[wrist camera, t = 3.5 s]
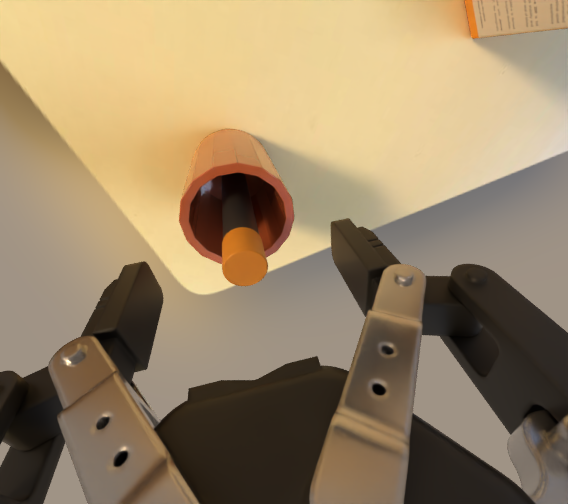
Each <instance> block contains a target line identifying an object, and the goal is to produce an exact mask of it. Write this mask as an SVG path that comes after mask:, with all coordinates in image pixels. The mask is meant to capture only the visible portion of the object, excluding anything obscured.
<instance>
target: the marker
mask: <svg viewBox="0 0 568 504" xmlns="http://www.w3.org/2000/svg"><path fill="white" fill-rule="evenodd" d="M221 178H222V220H223V241H222V270H223V274H224V276H225V278H226V279H227V280H228V281H229V282H231V283H232V284H235V285H238V286H249V285H253V284H255V283H257V282H259V281H260V280H262V278H264V276H265V275H266V273H267V269H268V264H267V259H266V255H265V251H264V247H263V243H262V239H261V237H260V235H259V231H258V227H257V223H256V218H255V214H254V210H253V206H252V202H251V197H250V193H249V189H248V185H247V181H246V177H245V174H244V173H239V172H237V173H232V174H227V175H222V176H221Z"/></svg>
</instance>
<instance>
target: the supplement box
mask: <svg viewBox="0 0 568 504" xmlns="http://www.w3.org/2000/svg"><path fill="white" fill-rule="evenodd" d="M465 6H466V10H467V16H468V22H469V27H470V33H471V37H472V38H473V39H474V38H485V37H492V36H501V35H512V34H520V33H527V32H538V31H546V30H555V29H564V28H568V0H465Z"/></svg>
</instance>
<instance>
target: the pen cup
mask: <svg viewBox="0 0 568 504" xmlns="http://www.w3.org/2000/svg"><path fill="white" fill-rule="evenodd" d="M237 172H239V173H244V174H245V177H246V181H247V185H248V189H249V193H250V197H251V202H252V206H253V210H254V214H255V218H256V223H257V227H258V231H259V235H260V237H261V239H262V243H263V247H264V251H265V255H266V257H268V256H270V255H271V254H273V253H275V252H276V251H277V250H278V249H279V248H280V247H281V245H282V244H283V243H284V242H285V240H286V239H287V238H288V236H289V234H290V231H291V228H292V224H293V221H294V210H293V202H292V198H291V196H290V194H289V192H288V190H287V188H286V187H285V185H284V183H283V181H282V179H281V177H280V176H279V174H278V172H277V170H276V168H275V167H274V165H273V163H272V161H271V159H270V157H269V156H268V154H267V152H266V151H265V149H264V147H263V146H262V144H261V143H260V142H259V141H258V140H257V139H255V138H254V137H253V136H251V135H250V134H248V133H246V132H243V131H240V130H235V129H224V130H220V131H216V132H214V133H212V134H210V135H209V136H207V137H206V138H205V139H204V140H203V141H202V142H201V143H200V144H199V146H198V147H197V149H196V152H195V153H194V155H193V159H192V162H191V166H190V169H189V173H188V176H187V180H186V183H185V187H184V191H183V194H182V198H181V201H180V215H179V223H180V225H181V228H182V230H183V232H184V235H185V237H186V240H187V241H188V242H189V243H190V244H191V245H192V246H193V247H194V248H195V249H196V250H197V251H198V252H199V253H200V254H201V255H202V256H204V257H206V258H209V259H211V260H213V261H215V262H218V263H221V264H222V241H223V220H222V178H221V176H222V175H227V174H232V173H237Z"/></svg>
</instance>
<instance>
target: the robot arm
mask: <svg viewBox="0 0 568 504" xmlns="http://www.w3.org/2000/svg"><path fill="white" fill-rule="evenodd" d="M331 249H332V256H333V260H334V263H335V265H336V266H337V268H338V270H339V272H340V273H341V275H342V277H343V279H344V280H345V282H346V284H347V286H348V287H349V289H350V291H351V292H352V294H353V296H354V298H355V300H356V301H357V303H358V305H359V307H360V308H361V310H362V312H363V314H364V315H365V317H366V319H365V323H364V326H363V329H362V332H361V335H360V338H359V341H358V345H357V348H356V351H355V354H354V357H353V361H352V364H351V367H350V370H349V371H346V370H344V369H340V368H337V367H332V366H320V363H319V360H318V357H317V356H316V357H312V358H308V359H304V360H300V361H296V362H292V363H288V364H285V365H283V366H282V367H280V368H278V369H276V370H274V371H272V372H270V373H268V374H266V375H264V376H263V377H261V378H259V379H256V380H227V381H226V380H225V381H224V380H221V381H217V382H213V383H209V384H205V385H201V386H197V387H193V388H189V392H188V400H187V401H185V402H184V403H182V404H180V405H179V406H178V407H176V408H175V409H173V410H172V411H171V412H170V413H169V414H167V416H165V417H164V418H163V419H162V420H160V419H159V418H158V416H157V415H156V413H155V412H154V410H153V409H152V407H151V406H150V405H149V403H148V402H147V400H146V399H145V397H144V396H143V395H142V393H141V392H140V390H139V389H138V387H137V386H136V384H135V383H134V382H133V381H132V378H133V374H134V372H138V371H141V370H146V369H147V367H148V363H149V359H150V354H151V350H152V346H153V342H154V337H155V334H156V330H157V325H158V321H159V317H160V313H161V308H162V304H163V293H162V290H161V287H160V286H159V284H158V282H157V280H156V278H155V276H154V275H153V273H152V271H151V269H150V267H149V265H148V264H147V263H146V262H139V263H134V264H130V265H125V266H124V267H123V269H122V272H121V274H120V276H119V278H118V279H116V280H114V281H113V282H112V283H111V284H110V285H109V286H108V287H107V288H106V289H105V290H104V292H103V294H102V296H101V298H100V301H99V302H98V304H97V306H96V309H95V310H94V312H93V314H92V316H91V317H90V319H89V322H88V323H87V325H86V327H85V329H84V331H83V333H82V335H81V337H79V338H76V339H74V340H72V341H71V342H69V343H67V344H66V345H64V346H63V347H62V348H60V349H59V351H57V352H56V353H55V355H54V356H53V357H52V359H51V360H50V362H49V365H48V366H47V367H45V368H43V369H41V370H39V371H37V372H35V373H32V374H30V375H28V376H26V377H24V378H22V377H20V376H19V375H18V374H16V373H15V372H13V371H3V372H0V444H1V442H5V443H6V444H8V445H10V446H11V447H10V449H9V451H8V453H7V455H6V457H5V459H4V461H3V463H2V465H1V467H0V504H43V503H44V500H45V497H46V494H47V491H48V489H49V486H50V483H51V480H52V477H53V474H54V472H55V469H56V466H57V463H58V461H59V458H60V455H61V452H62V450H63V447H64V444H65V442H66V445H67V448H68V450H69V453H70V456H71V459H72V461H73V464H74V467H75V469H76V472H77V475H78V478H79V481H80V484H81V486H82V489H83V492H84V495H85V497H86V500H87V503H88V504H568V333H567V332H566V331H565V330H564V329H562V328H561V327H560V326H559V325H558V324H556V323H555V322H554V321H553V320H552V319H550V318H549V317H548V316H547V315H546V314H544V313H543V312H542V311H541V310H540V309H538V308H537V307H536V306H535V305H534V304H532V303H531V302H530V301H529V300H528V299H526V298H525V297H524V296H523V295H522V294H520V293H519V292H518V291H517V290H516V289H514V288H513V287H512V286H511V285H510V284H508V283H507V282H506V281H505V280H504V279H502V278H501V277H500V276H499V275H498V274H496V273H495V272H494V271H492V270H490V269H488V268H486V267H483V266H480V265H475V264H462V265H458V266H456V267H455V268H453V270H452V272H451V276H425V274H424V273H423V272H422V271H421V270H419V269H418V268H416V267H413V266H411V265H406V264H401V263H400V262H399V261H398V260H397V259H396V257H395V256H394V255H393V254H392V253H391V252H390V251H389V250H388V249H387V247H386V246H385V245H383V243H382V242H381V241H380V240H378V237H377V236H376V235H375V234H374V233H373V232H372V231H370V230H368V229H366V228H364V227H358V228H357V227H356V226H355V225H354V224H353V223H352V221H351V220H350V219H349V218H347V219H343V220H338V221H333V222H331ZM422 335H437V336H440V337H441V339H442V340H443V342H444V343H445V344H446V346H447V347H448V348H449V350H450V351H451V353H452V354H453V355H454V357H455V358H456V359H457V361H458V362H459V364H460V365H461V367H462V368H463V369H464V371H465V372H466V373H467V375H468V376H469V378H470V379H471V380H472V382H473V383H474V384H475V386H476V387H477V389H478V390H479V391H480V393H481V394H482V396H483V397H484V398H485V400H486V401H487V403H488V404H489V405H490V407H491V408H492V410H493V411H494V412H495V414H496V415H497V416H498V418H499V419H500V421H501V422H502V423H503V425H504V426H505V428H506V429H507V430H508V432H509V433H510V434H511V435H510V437H509V439H508V443H507V449H508V453H509V456H510V459H511V461H512V463H513V465H514V467H515V468H516V470H517V473H518V475H519V477H520V481H521V485H522V489H521V488H520V487H519V486H518V485H517V484H515V483H514V482H513V481H512V480H510V479H509V478H508V477H506V476H505V475H503V474H502V473H501V472H499V471H498V470H496V469H495V468H493V467H492V466H490V465H489V464H487V463H486V462H484V461H483V460H481V459H480V458H478V457H477V456H476V455H474V454H473V453H471V452H470V451H468V450H466V449H465V448H464V447H462V446H460V445H459V444H458V443H456V442H455V441H453V440H452V439H450V438H449V437H448V436H446V435H444V434H443V433H442V432H440V431H439V430H437V429H436V428H434V427H433V426H431V425H430V424H428V423H427V422H425V421H424V420H422V419H421V418H419V417H418V416H416V415H415V414H414V413H413V405H414V396H415V388H416V378H417V370H418V362H419V353H420V345H421V344H420V343H421V336H422Z"/></svg>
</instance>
